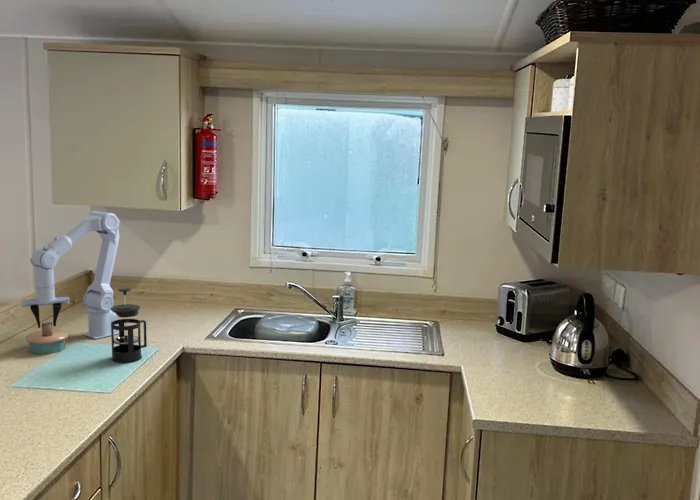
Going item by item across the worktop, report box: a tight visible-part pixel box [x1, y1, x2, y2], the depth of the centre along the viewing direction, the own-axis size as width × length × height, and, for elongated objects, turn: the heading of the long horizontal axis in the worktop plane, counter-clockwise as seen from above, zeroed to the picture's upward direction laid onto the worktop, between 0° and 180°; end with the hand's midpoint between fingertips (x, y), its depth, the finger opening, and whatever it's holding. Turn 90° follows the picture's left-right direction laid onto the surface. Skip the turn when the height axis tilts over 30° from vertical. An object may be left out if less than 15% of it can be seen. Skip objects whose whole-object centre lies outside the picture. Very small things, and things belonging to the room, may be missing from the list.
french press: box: [110, 287, 148, 364], centre depth 223 cm, size 12×9×23 cm
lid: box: [25, 321, 70, 343], centre depth 231 cm, size 13×13×5 cm
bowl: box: [28, 339, 66, 355], centre depth 232 cm, size 11×11×4 cm
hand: (46, 326), depth 231 cm, fingers open, 4 cm apart
